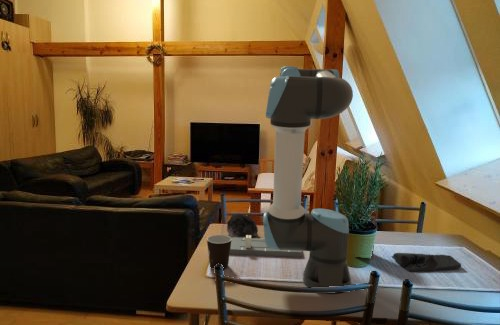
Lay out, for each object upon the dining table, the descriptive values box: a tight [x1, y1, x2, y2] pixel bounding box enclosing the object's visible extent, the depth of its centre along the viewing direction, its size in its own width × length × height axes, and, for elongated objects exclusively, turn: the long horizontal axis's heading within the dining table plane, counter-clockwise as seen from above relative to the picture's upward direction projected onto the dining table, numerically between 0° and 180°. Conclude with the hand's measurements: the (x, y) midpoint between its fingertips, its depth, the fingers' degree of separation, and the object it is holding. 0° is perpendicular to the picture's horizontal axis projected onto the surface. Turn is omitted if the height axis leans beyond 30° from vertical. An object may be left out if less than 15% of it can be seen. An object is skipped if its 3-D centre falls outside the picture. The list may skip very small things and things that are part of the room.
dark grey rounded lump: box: [226, 213, 259, 238], centre depth 155 cm, size 13×14×10 cm
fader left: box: [245, 235, 252, 248], centre depth 136 cm, size 3×2×4 cm, turn 177°
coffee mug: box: [206, 234, 232, 270], centre depth 124 cm, size 12×9×10 cm
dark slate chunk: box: [391, 252, 462, 273], centre depth 129 cm, size 15×22×5 cm
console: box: [230, 237, 303, 258], centre depth 139 cm, size 14×28×2 cm, turn 87°
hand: (286, 160), depth 149 cm, fingers closed
